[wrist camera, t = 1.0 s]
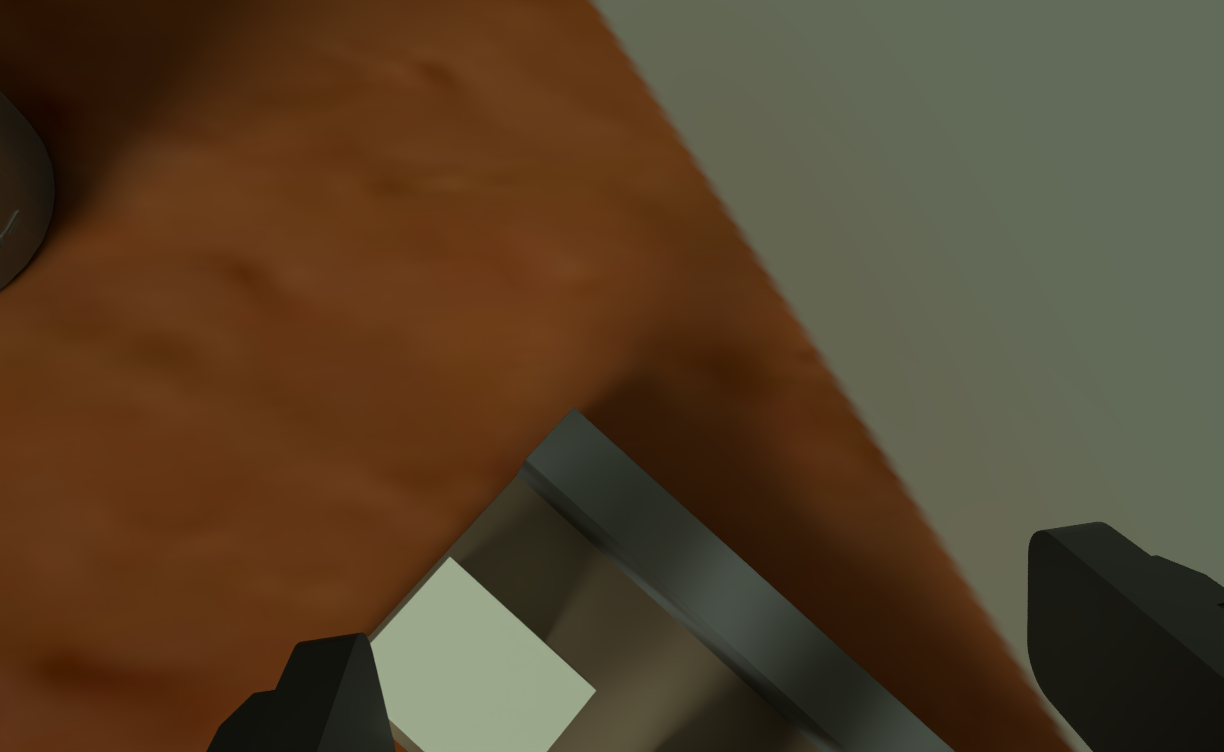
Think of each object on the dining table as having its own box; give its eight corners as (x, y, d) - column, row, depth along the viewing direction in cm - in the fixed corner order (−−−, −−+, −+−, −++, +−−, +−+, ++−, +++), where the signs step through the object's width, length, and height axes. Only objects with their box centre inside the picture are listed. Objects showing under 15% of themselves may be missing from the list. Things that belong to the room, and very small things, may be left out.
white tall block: (383, 640, 29) (337, 675, 17) (451, 566, 30) (449, 553, 18) (477, 727, 29) (494, 819, 17) (542, 650, 30) (599, 690, 18)
